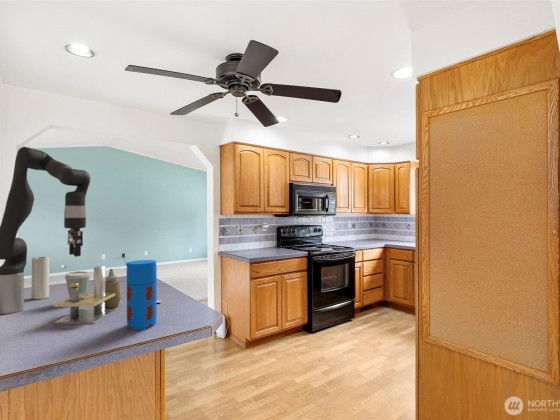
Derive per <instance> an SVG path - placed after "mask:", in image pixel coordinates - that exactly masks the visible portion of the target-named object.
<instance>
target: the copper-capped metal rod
mask: <svg viewBox="0 0 560 420" xmlns="http://www.w3.org/2000/svg"><path fill="white" fill-rule="evenodd" d="M78 301H79V283H73V284H70V302H78ZM69 308H70V309H69V310H70V311H69V314H70V319H75V318H78V317H79V310H80V306H69Z"/></svg>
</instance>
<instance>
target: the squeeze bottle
mask: <svg viewBox="0 0 560 420" xmlns="http://www.w3.org/2000/svg"><path fill="white" fill-rule="evenodd" d="M120 286H121V285H120V281H119V280H118V276H117V275H115V271H114V268H109V271H108V276H105V293H115V296H113V297H111V298H109V299H107V300H105V309H115V308H116V307H117V308H118V307H119V305H120V302H121V299H122V297H121V296H122V295H121V287H120Z"/></svg>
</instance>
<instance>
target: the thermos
mask: <svg viewBox="0 0 560 420" xmlns="http://www.w3.org/2000/svg"><path fill="white" fill-rule="evenodd" d="M157 268H158V267H157V261H156V260H154V259H141V260H132V261H128V262H127V263H126V326H127V329H128V330H131V331H142V330H146V329H150V328H153V327H155V326H156V324H157V313H158V311H157V309H158V308H157V307H158V306H157V301H158V299H157V298H158V297H157V296H158V295H157V293H158V292H157V287H158V286H157V285H158V282H157V278H158V277H157V270H158V269H157Z"/></svg>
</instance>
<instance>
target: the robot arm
mask: <svg viewBox="0 0 560 420" xmlns="http://www.w3.org/2000/svg"><path fill="white" fill-rule="evenodd" d="M29 169H31V170H35V171H45V172H47V173H48V174H49V175H50V176H51V177H53V178H55V179H57V180H58V181H59V182H60V183H61V184H63V185H66V186H71V187H76V188H75V190H73V191H68V192H66V193H65V196H64V198H65V199H64V210H63V211H64V212H63V213H64V214H63V216H64V217H63V220H64V221H63V225H64V226H63V227H64V229H69V230H67V244H68V246H69V247H68V250H69V252H68V254H69V255H70V256H71V255H73V257H75V258H77V257H81V254H82V249H81V248H82V246H83V245H84V243H83V242H84V241H83V240H84V239H83V235H84V232H83V230H82V231H81V229H85V228H86V226H87V224H86V223H87V221H86V220H87V211H86V196H87V193H88V189H89V186H90V183H91V176H90V173H89V172H88V171H86V170H83V169H75V168H73V167H71V166H70V165H68V164H66V163H63V162H61V161H58V160H56V159H54V157H52V156H51V155H49V153H47V152H45V151H43V150H41V149H36V148H31V147H28V146H21V147H20V148H19V149H18V150H17V152H16V156H15V161H14V168H13V175H12V181H11V184H10V188H9V192H8V196H7V199H6V203H5V208H4V212H3V215H2V219H1V223H0V260H1V261H2V260H4V262H3V264H1V265H0V315H6V314H13V313H18V312H20V311H23V310H24V309H25V305H24V304H25V291H24V290H25V268H26V266H27V261H28V260H27V258H28V257H27V255H28V246H27V243H26V241H25V240H24V239H23V238H21V237H17V234H18V231H19V230H20V228H21V226H22V224H24V222H25V221H26V220H27V219H28V218H29V217H30V215H31V213H32V209H33V206H34V203H35V195H34V193H33V190H32V188H31V186H30V183H29V182H28V170H29Z"/></svg>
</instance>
